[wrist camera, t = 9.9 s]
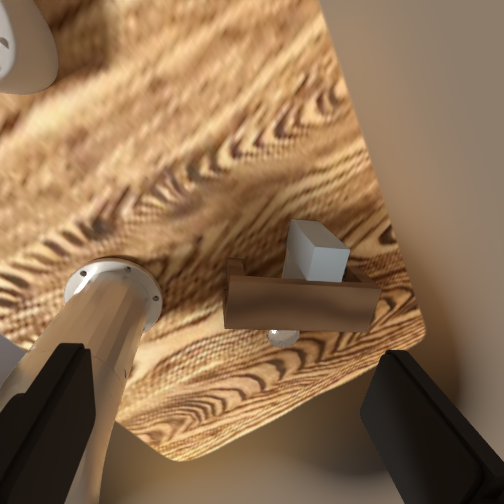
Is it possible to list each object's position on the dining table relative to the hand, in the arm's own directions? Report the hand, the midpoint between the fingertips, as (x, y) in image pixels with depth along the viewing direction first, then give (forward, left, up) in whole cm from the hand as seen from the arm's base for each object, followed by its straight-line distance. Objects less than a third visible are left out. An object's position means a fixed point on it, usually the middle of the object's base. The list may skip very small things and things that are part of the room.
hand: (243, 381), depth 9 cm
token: (-16, -19, -31) cm, 39 cm away
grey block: (-6, -15, -30) cm, 34 cm away
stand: (-8, -16, -30) cm, 35 cm away
